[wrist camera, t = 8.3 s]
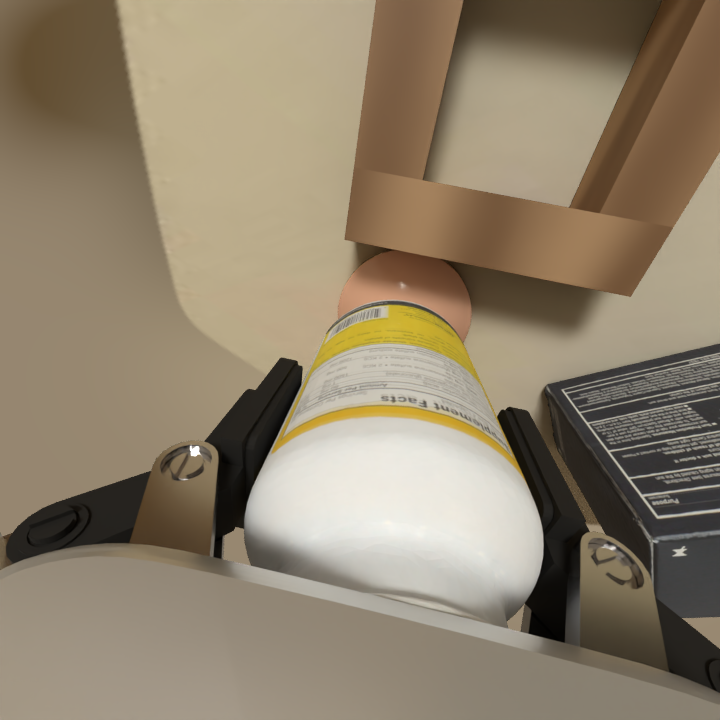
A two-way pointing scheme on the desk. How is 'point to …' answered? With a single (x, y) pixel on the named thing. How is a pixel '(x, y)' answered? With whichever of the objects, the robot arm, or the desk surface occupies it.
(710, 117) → the pocket holder
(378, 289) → the coaster
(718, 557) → the small box
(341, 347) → the pill bottle
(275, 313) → the desk surface
